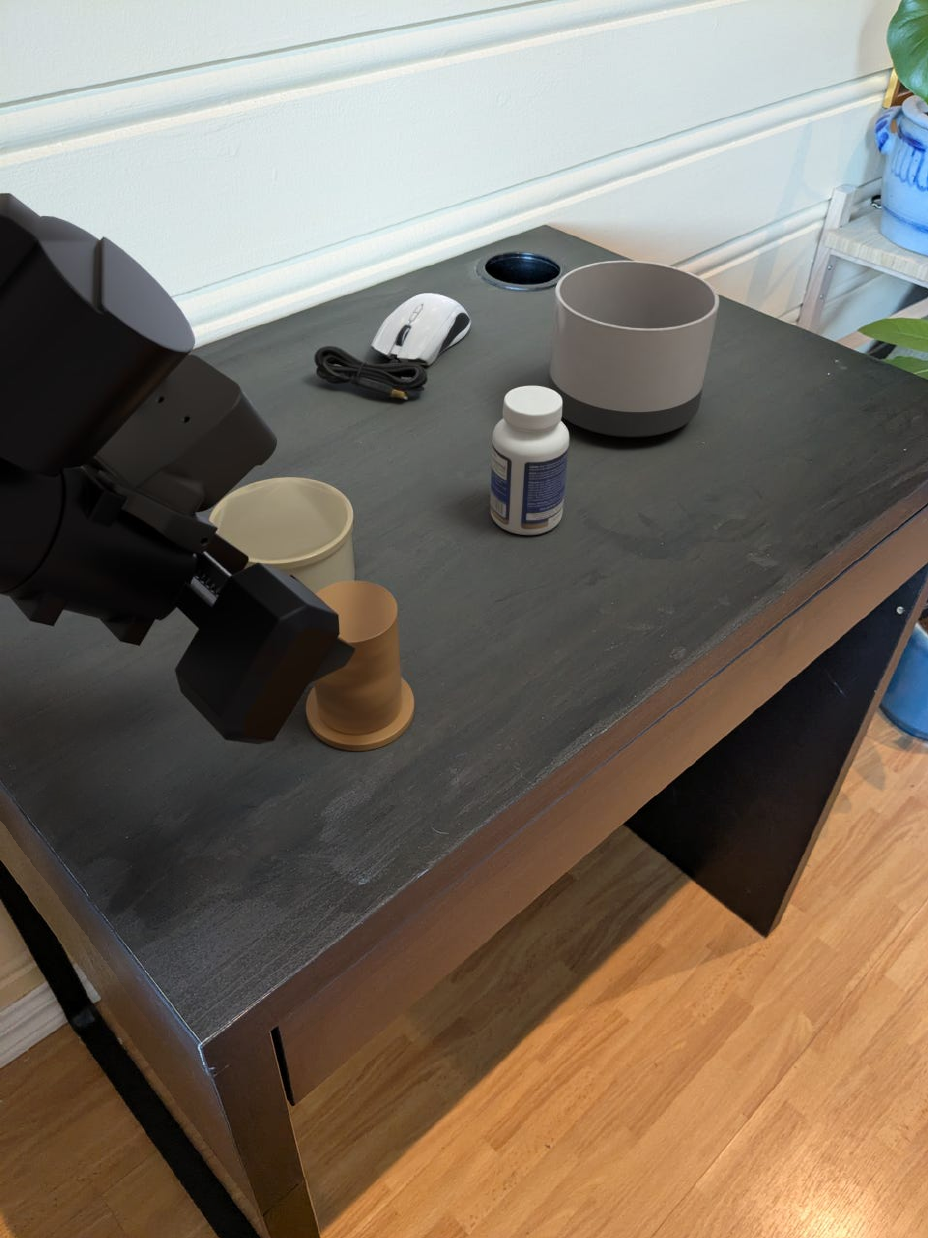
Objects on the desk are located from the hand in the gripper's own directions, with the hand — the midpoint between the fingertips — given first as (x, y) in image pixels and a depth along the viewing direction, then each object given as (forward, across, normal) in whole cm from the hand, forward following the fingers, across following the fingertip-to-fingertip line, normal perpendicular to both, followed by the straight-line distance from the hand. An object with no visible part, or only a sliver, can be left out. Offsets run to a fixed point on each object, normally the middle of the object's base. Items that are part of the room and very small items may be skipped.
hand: (293, 608), depth 49 cm
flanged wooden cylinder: (+10, 0, +5) cm, 11 cm away
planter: (+36, +12, -22) cm, 44 cm away
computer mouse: (+31, +32, -17) cm, 48 cm away
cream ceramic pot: (+12, +13, +2) cm, 18 cm away
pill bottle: (+25, +7, -10) cm, 28 cm away
